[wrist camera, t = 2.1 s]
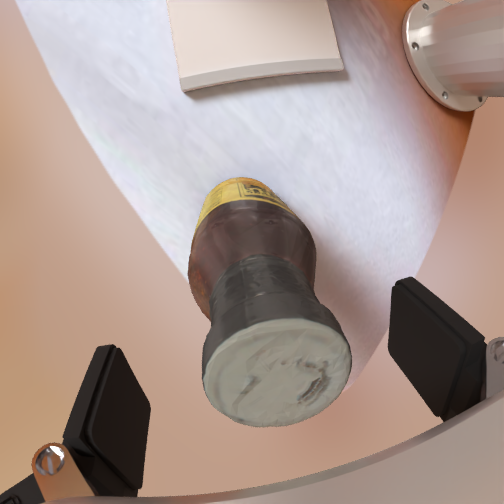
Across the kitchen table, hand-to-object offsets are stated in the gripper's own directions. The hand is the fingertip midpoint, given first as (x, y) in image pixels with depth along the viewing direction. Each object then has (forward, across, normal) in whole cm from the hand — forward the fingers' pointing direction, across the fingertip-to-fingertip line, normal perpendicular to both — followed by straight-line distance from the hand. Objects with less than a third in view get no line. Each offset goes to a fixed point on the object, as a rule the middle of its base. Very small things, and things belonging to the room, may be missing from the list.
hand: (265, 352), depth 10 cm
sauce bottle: (+18, -1, 0) cm, 18 cm away
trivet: (+17, -5, -18) cm, 25 cm away
